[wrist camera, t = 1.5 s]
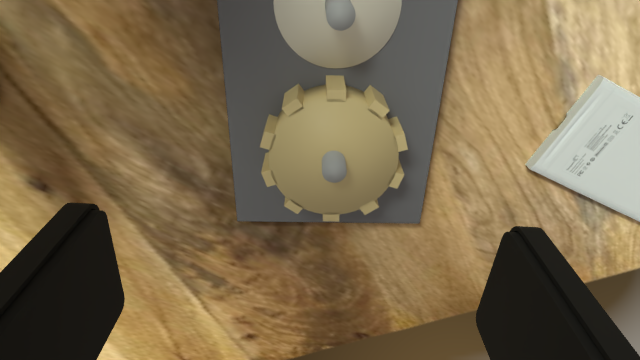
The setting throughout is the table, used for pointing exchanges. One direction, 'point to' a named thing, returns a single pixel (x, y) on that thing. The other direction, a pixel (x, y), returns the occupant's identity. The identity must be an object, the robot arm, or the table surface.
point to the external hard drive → (597, 148)
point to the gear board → (283, 69)
